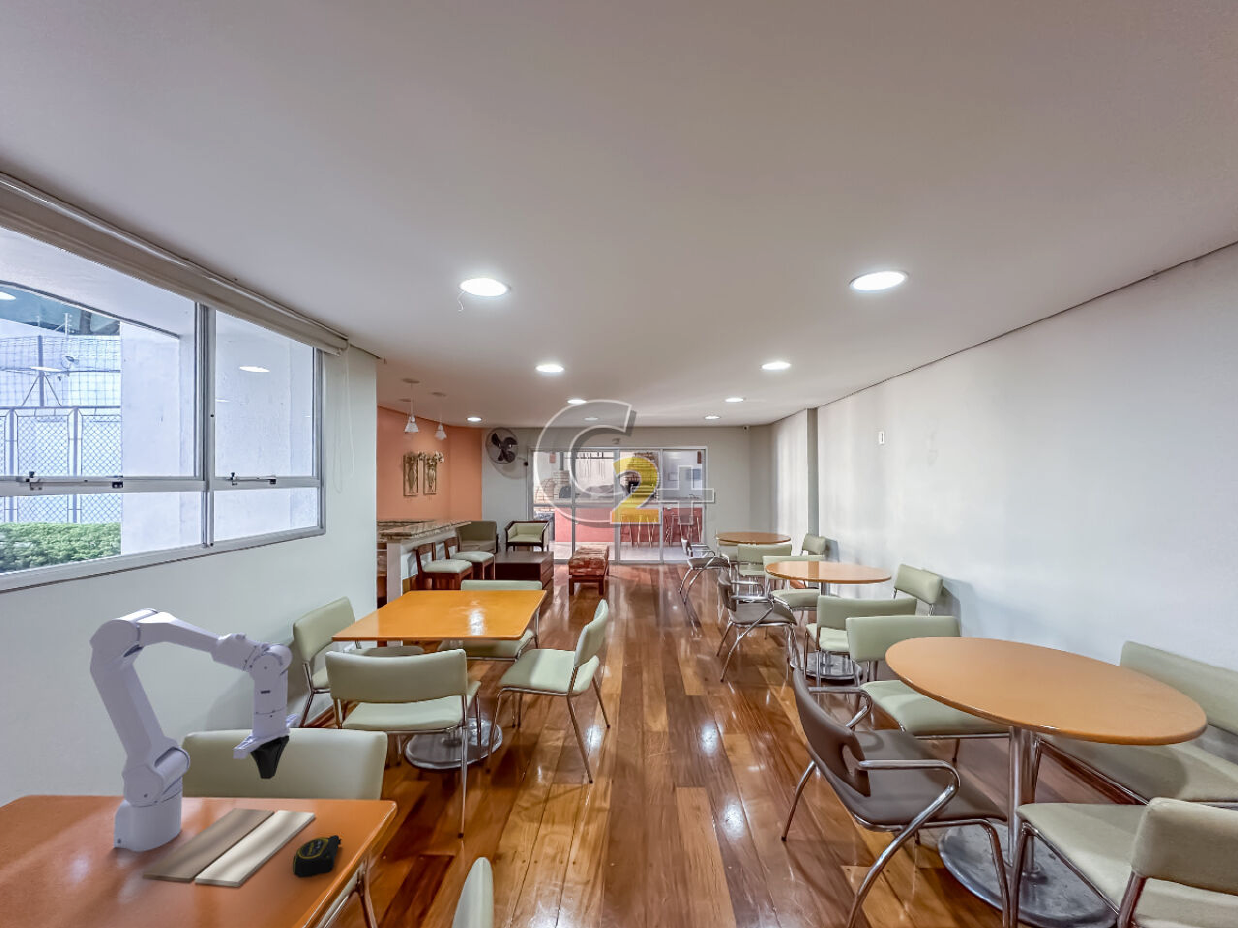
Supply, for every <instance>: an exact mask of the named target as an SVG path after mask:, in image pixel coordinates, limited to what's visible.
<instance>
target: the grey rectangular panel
mask: <svg viewBox="0 0 1238 928" xmlns="http://www.w3.org/2000/svg"><path fill="white" fill-rule="evenodd" d="M274 814H275V810H267V809H255V808H254V809H252V808H241V807H234V808H232V809H231V810H230V811H228V812H227V813H225V814H224V815H223V816H221V817H220V818H219V819H217V820H216V821H215V822H214V823H212V824H211V825H209V826H208V827H206V828H205V829H204V830H202V831H201V832H200V833H198V834H196V835H195V836H194V837H192V838H191V839H190V840H188V841H187V842H186V843H184V844H183V845H181V846H180V847H178V848H177V849H175V850H174V851H172V852H171V854H168V855H167V856H165V857H164V858H163V859H162V860H160V861H159V862H157V863H156V864H155V865H154V866H152V867H151V868H149V869H148V870H146V871H145V872H144V873H143V874H142V878H144V879H151V880H152V879H153V880H161V881H162V880H164V881H165V880H166V881H175V882H183V883H184V882H185V883H191V882H192V881H193V880H195V878H196V877H197V876H198V875H199V874H201V873H202V872H203V871H204V870H206V869H207V868H208V867H209V866H210V865H212V864H213V863H214V862H215V861H217V860H218V859H219V858H220V857H222V856H223V855H224V854H225V853H227V852H228V851H229V850H230V849H232V848H233V847H234V846H235V845H237V844H238V843H239V842H240V841H241V840H243V839H244V838H245V837H246V836H248V835H249V834H250V833H251V832H253V831H254V830H255V829H256V828H258V827H259V826H260V825H261V824H263V823H264V822H265V821H266V820H268V819H269V818H270V817H271V816H273V815H274Z"/></svg>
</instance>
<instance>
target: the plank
mask: <svg viewBox="0 0 1238 928" xmlns="http://www.w3.org/2000/svg"><path fill="white" fill-rule="evenodd" d="M314 818H316V813H315V812H307V811H292V810H283V809H282V810H277V812H274V815H272V816H271V817H270V818H269V819H268V820H266V821H265V822H264V823H263V824H261V825H260V826H259V827H258V828H256V829H255V830H254V831H253V832H251V833H250V834H249V835H248V836H246V837H245V838H244V839H243V840H241V841H240V842H239V843H238V844H237V845H235V846H234V847H233V848H232V849H230V850H229V851H228V852H227V853H225V854H224V855H223V856H222V857H220V858H219V859H218V860H217V861H215V862H214V863H213V864H212V865H210V866H209V867H208V868H207V869H205V870H204V871H203V872H202V873H201V874H199V875H198V876H197V877H196V878H194V883H195V884H206V885H207V884H208V885H216V886H227V887H234V888H235V887H239V886H241V885H242V883H244V882H246V881H247V879H248V878H249V877H250V876H251V875H253V874H254V873H255V872H256V871H257V870H258V869H259V868H261V867H262V866H263V864H265V863H266V862H267V861H268V860H269V859H271V857H273V855H275V854H276V853H277V852H278V851H279V850H280V849H281V848H283V847H284V845H286V844H287V843H288V842H289V841H290V840H292V838H293V837H295V836H296V835H297V834H298V833H299V832H301V830H302V829H303V828H304V827H305V826H307V824H309V823H310V822H311V821H312V820H314Z"/></svg>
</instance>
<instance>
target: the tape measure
mask: <svg viewBox="0 0 1238 928" xmlns="http://www.w3.org/2000/svg"><path fill="white" fill-rule="evenodd" d="M339 845H342V838H341V839H340V837H339V835H337V834H334V835H330V836H329V837H326V836H325V837H324V836H322V837H317V838H313V839H311V840H309V841H307V842H305V843H304V844H301V846H299V848H298V849H297V850H296V852H295V854H294V856H293V860H292V872H293V874H294V876H296V877H297V878H312V877H315V876H317V875H318V876H319V875H321V874H326V873H329V872H331V871H333V869H334V864H335V858H336V856H337V853H338V849H339Z"/></svg>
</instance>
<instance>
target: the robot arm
mask: <svg viewBox="0 0 1238 928" xmlns="http://www.w3.org/2000/svg"><path fill="white" fill-rule="evenodd" d="M163 642H164V643H165V642H166V643H169V644H170V643H171V644H174V645H178V646H182V647H186V648H189V649H193V650H196V651H197V650H198V651H201V652H205V653H209V654H210V655H211V659H212V660H213V662H214V663H216V664H217V663H218V664H221V665H224V666H228V667H229V668H233V669H236V670H239V671H243V672H246V673H249V674H248V675H249V676H250V677H251V679H252V680H253V681H254V682H253V684H254V685H253V699H252V703H253V704H252V724H251V725H252V726H251V727H252V729H251V733H250V734H249V735H248V736H247V737H246V738H245V739H244V740H243V741H242V742H241V743H239V744H238V745H237V746H236V747H234V748H233V759H236V760H244V759H245V758H247V757H248V754H250V755H251V757H252V758H253V760H254V761H255V764H256V767H257V769H258V773H259V777H260V779H262V780H263V779H264V780H271V779H272V778H273V777H275V775H276V772H277V769H278V766H279V763H280V759H281V757H282V755H283V752H284V750H285V748H286V746H287V745H288V743H289V742H290V733H291V728H292V727H294V726H295V727H296V726H299V725H300V724H301V714H290V715H288V716H287V713H288V690H289V689H288V686H289V685H288V684H289V682H288V675H289V674H288V672H289V670H288V669H287V668H289V666H290V665H291V663H292V661H293V652H292V650H291V648H289V647H288V646H286V645H284V644H283V643H281V642H280V643H279V642H277V643H273V644H271V643H270V642H268V641H264V642H261V641H259V640H256V639H252V638H249V637H247V634H246V633H244V632H241V631H240V632H238V633H234V632H231V633H229V634H226V635H223V636H222V635H220V634H217V633H214V632H212V631H209V630H207V629H204V628H202V627H200V626H196V625H194V624H192V623H190V622H186V621H185V620H182V619H179V618H177V617H175V616H173V615H172V614H170V613H169V612H164V611H163V612H162V611H161V612H160V611H159V610H158V609H155V608H141V609H138V610H136V611H135V612H133V613H130V614H127V615H124V616H121V617H119V618H113V619H111V620H107V621H105V622H104V623H102V624H101V625H100V626H99V627H98V629H97V630H96V631H95V633H93V635H92V636H91V638H90V639H89V644H90V646H91V648H92V654H91V657H90V663H89V664H90V665H89V672H90V676H91V678H92V680H93V682H94V685H95V687H96V689H97V692H98V694H99V696H100V698H101V700H102V703H103V705H104V706H105V709H106V712H107V713H108V716H109V718H110V720H111V723H112V725H113V726H114V727H113V728H114V729H115V731H116V734H117V736H118V738H119V741H120V742H121V745H122V746H123V750H124V752H125V754H126V756H127V757H126V760H125V763H124V766H123V768H122V771H121V777H122V778H123V791H122V793H123V794H122V795H123V797H124V800H122V802H121V804H120V805H119V806H118V809H117V810H116V812H115V816H114V828H113V848H122V849H123V848H124V849H127V850H130V851H132V852H145V851H149V850H153V849H156V848H159V847H161V846H164V845H165V844H167V843H168V842H169V843H170V841H172V840H174V839H175V838H176V837H177V836H179V834H180V833H181V829H182V806H183V805H182V804H183V802H182V801H183V775H185V774H186V772H187V771H188V770H189V768H190V765H191V757H190V754H189V753H188V752H187V751H186V750H185V749H183V748H182V747H180V745H179V743H178V741H177V740H176V738H171V737H168V736H165V734H164V732H163V730H162V728H161V725H160V723H159V721H158V718H157V715H156V714H155V711H154V710H153V709H154V708H153V707H152V704H151V702H150V701H149V698H148V695H147V693H146V691H145V689H144V686H143V685H142V682H141V680H140V678H139V675H138V673H137V670H136V669H135V667H134V662H135V661H136V659H137V658H138V657H139V656H140V654H141V652H142V651H143V650H144V648H145V647H146V646H151V645H155V644H161V643H163Z"/></svg>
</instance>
